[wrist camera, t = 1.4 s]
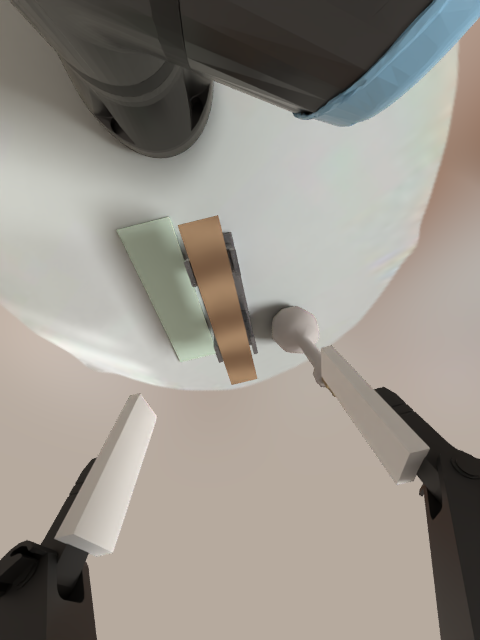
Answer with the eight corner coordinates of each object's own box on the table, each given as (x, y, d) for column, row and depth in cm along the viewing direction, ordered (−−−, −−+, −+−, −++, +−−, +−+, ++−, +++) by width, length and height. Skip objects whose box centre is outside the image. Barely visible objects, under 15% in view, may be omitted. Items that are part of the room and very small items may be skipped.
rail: (184, 225, 21) (177, 225, 17) (218, 217, 21) (218, 215, 17) (230, 367, 31) (231, 384, 27) (252, 361, 31) (257, 378, 27)
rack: (188, 242, 29) (174, 249, 20) (230, 232, 29) (236, 233, 20) (218, 335, 37) (218, 370, 28) (251, 327, 37) (262, 359, 28)
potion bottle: (283, 346, 40) (326, 423, 24) (259, 320, 37) (290, 391, 21) (316, 321, 38) (387, 388, 22) (294, 292, 35) (359, 346, 19)
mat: (118, 229, 27) (116, 229, 27) (169, 216, 27) (168, 216, 27) (181, 360, 39) (180, 362, 39) (216, 352, 39) (216, 353, 39)
